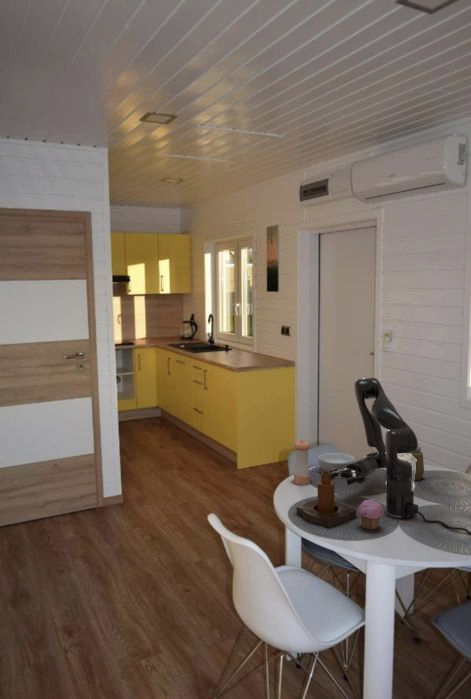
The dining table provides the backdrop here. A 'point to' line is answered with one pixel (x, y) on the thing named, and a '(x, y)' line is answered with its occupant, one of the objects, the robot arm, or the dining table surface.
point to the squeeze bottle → (418, 463)
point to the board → (326, 514)
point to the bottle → (326, 493)
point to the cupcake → (370, 514)
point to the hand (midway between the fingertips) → (338, 479)
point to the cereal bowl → (335, 461)
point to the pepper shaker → (301, 463)
